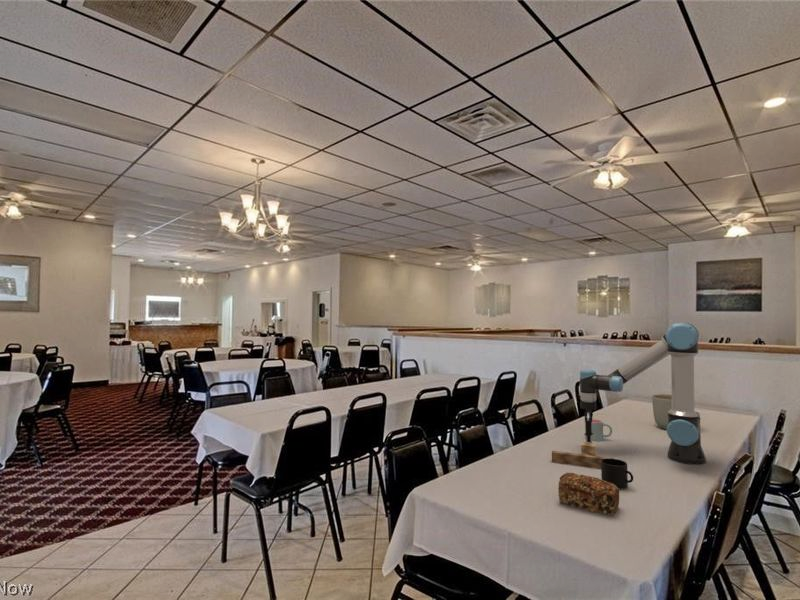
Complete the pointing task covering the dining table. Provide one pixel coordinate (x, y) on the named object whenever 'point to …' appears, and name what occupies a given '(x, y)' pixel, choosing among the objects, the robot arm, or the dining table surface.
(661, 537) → the dining table surface
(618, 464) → the mug
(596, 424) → the mug
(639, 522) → the dining table surface
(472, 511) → the dining table surface
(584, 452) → the block
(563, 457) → the board
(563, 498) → the bread
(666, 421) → the planter
